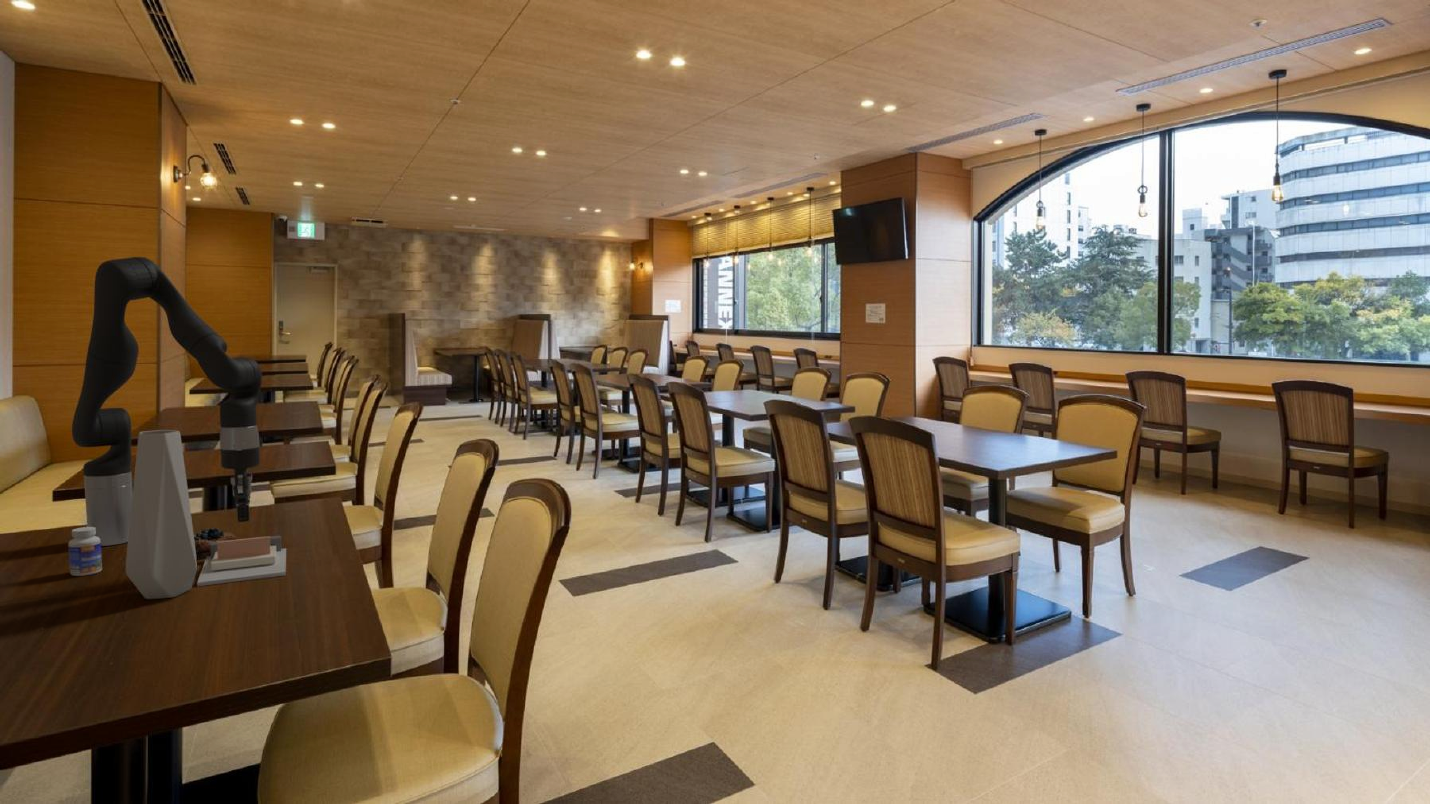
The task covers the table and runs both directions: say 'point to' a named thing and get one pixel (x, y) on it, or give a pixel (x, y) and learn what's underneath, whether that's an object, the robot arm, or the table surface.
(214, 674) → the table surface
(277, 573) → the white tray
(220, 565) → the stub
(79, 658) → the table surface
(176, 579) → the vase
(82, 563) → the pill bottle
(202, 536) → the pastry
